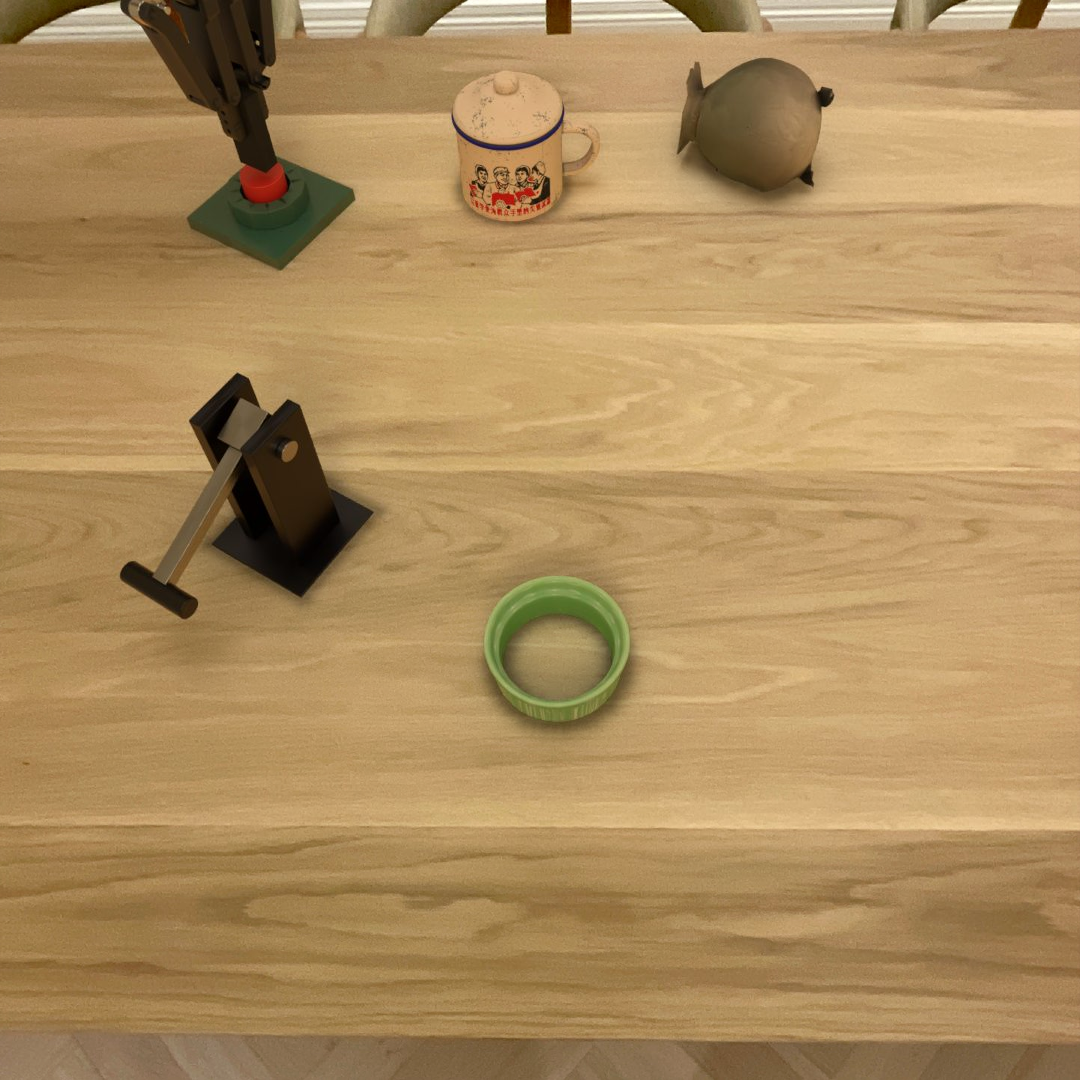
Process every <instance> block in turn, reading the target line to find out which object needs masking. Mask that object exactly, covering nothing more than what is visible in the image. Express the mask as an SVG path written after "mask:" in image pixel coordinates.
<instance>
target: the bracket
mask: <svg viewBox="0 0 1080 1080" xmlns="http://www.w3.org/2000/svg"><path fill="white" fill-rule="evenodd" d="M240 398H242V399H244V400H246V401H248V402H250V403H252V404H254V405H256V406H258V407H259V408H261V409H262V407H261V404H260V403H259V400H258V397H257V394H256V392H255V390H254V387H253V385H252V382H251V380H250V378H249V377H247V376H245V375H244V374H241V373H240V372H236V373H235V374H234V375H233V376H231V378H230V379H229V380H228V381H227V382H225V383H224V384H223V386H222V387H221V388H219V389H218V390H217V392H215V394H213V395H212V396H211V398H209V400H207V401H206V403H204V404H203V405H202V406H201V407H200V408H199V409H198V411H197V412H195V414H193V416H191V417H190V418H189V420H188V423H189V425H190V427H191V429H192V431H193V433H194V435H195V437H196V439H197V441H198V443H199V445H200V447H201V450H202V451H203V453H204V455H205V457H206V459H207V461H208V463H209V465H210V467H211V469H212V471H213V472H214V471H215V470H216V468H217V466H218V464H219V463H220V461H221V459H222V458H223V456H224V454H225V453H226V451H227V449H228V448H229V446H230V445H228V444H227V443H225V442H223V441H222V440H220V439H218V438H217V437H218V435H219V433H220V432H221V430H222V428H223V427H224V425H225V423H226V422H227V420H228V418H229V417H230V415H231V413H232V412H233V410H234V408H235V406H236V405H237V403H238V401H239V400H240ZM240 450H241V453H242V455H243V457H244V459H245V462H246V464H247V465H246V467H245V468H244V470H243V472H242V473H241V475H240V477H239V478H238V480H237V482H236V484H235V485H234V487H233V489H232V490H231V492H230V494H229V495H228V497H227V499H226V500H227V502H228V504H229V505H230V507H231V510H232V511H233V514H234V515H235V517H234V519H233V520H232V521H231V522H230V523H229V524H228V525H227V526H226V527H225V528H224V529H223V531H221V533H219V535H218V536H217V537H216V538H215V539H214V540H213V541H212V542H211V546H213V547H214V548H215V549H218V550H219V551H221V552H223V553H225V554H226V555H228V556H230V557H231V558H233V559H235V560H237V561H238V562H239V563H241V564H244V565H245V566H247V567H248V568H249V569H251V570H253V571H255V572H256V573H258V574H260V575H262V576H263V577H265V578H267V579H268V580H270V581H271V582H274V583H275V584H277V585H279V586H280V587H282V588H283V589H285V590H287V591H289V592H290V593H292V594H294V595H295V596H297V597H299V598H303V596H304V595H305V594H306V593H307V592H308V591H309V590H310V589H311V587H312V586H313V585H314V584H315V583H316V581H317V580H318V579H319V577H321V576H322V574H323V573H324V572H325V571H326V570H327V568H328V567H329V566H330V565H331V564H332V562H333V561H334V560H335V559H336V558H337V557H338V556H339V554H340V553H341V552H342V551H343V550H344V548H345V547H346V546H347V545H348V544H349V543H350V541H352V539H353V538H354V536H355V535H356V534H357V533H358V532H359V531H360V530H361V528H362V527H363V526H364V525H365V524H366V522H368V521H369V519H370V518H371V517H372V516H373V514H374V511H373V510H371V509H370V508H368V507H366V506H363V504H360V503H358V502H357V501H356V500H355V501H354V500H353V499H351V498H349V497H347V496H345V495H344V494H342V493H340V492H339V491H336V490H335V489H333V488H331V487H329V484H328V481H327V479H326V476H325V475H326V474H325V473H324V469H323V466H322V464H321V461H320V458H319V455H318V452H317V450H316V446H315V444H314V440H313V438H312V436H311V432H310V430H309V426H308V424H307V421H306V418H305V415H304V412H303V410H302V406H301V405H300V404H299V403H297V402H295V401H293V400H291V399H290V398H287V399H286V400H285V401H284V402H283V403H282V404H281V405H280V406H279V407H278V408H277V409H276V410H275V411H274V413H273V414H272V416H271V417H270V418H269V419H268V420H267V421H266V422H265V423H264V424H263V425H262V426H261V427H260V428H259V429H258V430H257V431H256V432H255V433H254V434H253V435H252V436H251V438H250V439H249V440H248V441H247V442H246V443H245V444H244V445H243V446H242V447H241V448H240Z"/></svg>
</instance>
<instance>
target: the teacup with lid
mask: <svg viewBox="0 0 1080 1080" xmlns="http://www.w3.org/2000/svg"><path fill="white" fill-rule="evenodd" d="M450 115H451V117H450V118H451V122H452V125H453V128H454V129H455V134H456V135H455V136H456V142H457V143H456V144H457V151H458V152H457V153H458V160H459V161H458V162H459V169H460V178H461V188H462V194H463V198H464V200H465V202H466V204H467V205H468V206H469V207H470V208H471V209H472V210H473V211H474V212H476V213H478V214H479V215H480V216H483V217H486V218H488V219H491V220H496V221H502V222H518V221H520V222H521V221H525V220H529V219H532V218H533V219H534V218H536V217H538V216H540V215H542V214H545V213H546V212H547V211H549V210H550V209H551V208H552V207H554V205H556V203H557V202H558V201H559V199H560V197H561V195H562V193H563V184H564V183H563V177H566V176H567V177H568V176H575V175H579V174H581V173H583V172H585V171H587V170H588V169H589V168H590V167H591V166H592V165H593V164H594V163H595V161H596V160H597V158H598V156H599V153H600V149H601V148H600V147H601V138H600V134H599V132H598V131H599V130H598V129H597V128H596V127H595V126H594V125H593V124H591V123H590V122H588V121H586V120H582V119H576V118H575V119H574V118H573V119H564V118H565V105H564V102H563V100H562V97H561V95H560V94H559V92H558V90H557V89H556V88H555V87H554V86H553V84H551V83H549V82H548V81H546V80H545V79H544V78H541V77H540V76H537V75H534V74H530V73H527V72H520V71H512V70H507V69H505V70H504V69H503V70H501V71H498V72H495V73H489V74H486V75H483V76H481V77H478V78H476V79H474V80H472V81H471V82H469V83H468V84H466V86H464V87H462V89H461V90H460V92H459V93H458V94H457V96H455V99H454V102H453V104H452V108H451V114H450ZM564 134H580V135H583V136H585V137H587V138H588V139H589V140H590V142H591V143H590V146H589V149H588V150H587V152H586V154H584V155H583V156H582V157H581V158H578V159H576V160H574V161H568V162H567V161H566V162H563V135H564Z"/></svg>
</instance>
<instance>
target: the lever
mask: <svg viewBox="0 0 1080 1080" xmlns="http://www.w3.org/2000/svg"><path fill="white" fill-rule="evenodd" d="M272 415H273V414H272V413H270V412H269V411H267V410H265V409H263V408H262V407H261V408H259V407H258V406H256V405H254V404H252V403H250V402H248V401H246V400H244V399H242V398H240V400H239V401H238V403H237V405H236V406H235V408H234V410H233V412H232V413H231V415H230V417H229V418H228V420H227V422H226V423H225V425H224V427H223V428H222V430H221V432H220V433H219V435H218V437H217V438H218V439H220V440H222V441H223V442H225V443H227V444H228V445H230V446H229V448H228V449H227V451H226V453H225V454H224V456H223V458H222V459H221V461H220V463H219V464H218V466H217V468H216V470H215V471H213V473H212V475H211V477H210V478H209V479H208V480H207V481H208V482H207V483H206V484H205V486H204V488H203V490H202V491H201V494H200V495H199V497H198V498H197V500H196V502H195V503H194V505H193V507H192V508H191V510H190V512H189V514H188V515H187V517H186V519H185V520H184V521H183V524H182V525H181V527H180V529H179V530H178V532H177V534H176V536H175V537H174V539H173V541H172V543H171V544H170V545H169V547H168V549H167V551H166V552H165V554H164V556H163V558H162V559H161V561H160V563H159V564H158V566H157V567H156V569H155V571H153V570H151V569H150V568H148V567H146V566H144V564H141V563H140V562H139V561H137V560H130V561H128V562H126V563H125V564H124V565H123V567H122V568H121V570H120V571H119V579H120V581H121V582H122V583H124V584H125V585H127V586H129V587H130V588H132V589H134V590H135V591H137V592H138V593H140V594H141V595H143V596H145V597H146V598H148V599H150V600H151V601H153V602H154V603H156V604H157V605H159V606H160V607H162V608H163V609H165V610H167V611H169V612H170V613H172V614H173V615H175V616H176V617H178V618H180V619H181V620H188V619H189V618H191V617H192V616H193V615H194V614H195V613H196V611H197V610H198V607H199V600H198V598H196V597H195V596H193V595H192V594H190V593H188V592H187V591H185V590H184V589H182V588H180V587H179V586H177V584H178V582H179V581H180V579H181V577H182V575H183V573H184V572H185V570H186V569H187V567H188V566H189V564H190V562H191V560H192V558H193V557H194V555H195V554H196V552H197V550H198V549H199V546H200V545H201V544H202V542H203V540H204V538H205V537H206V534H207V533H208V531H209V530H210V528H211V526H212V524H213V523H214V521H215V520H216V517H217V516H218V514H219V512H220V511H221V509H222V508H223V506H224V504H225V502H226V501H227V500H228V499H227V497H228V495H229V494H230V492H231V490H232V489H233V487H234V485H235V484H236V482H237V480H238V478H239V477H240V475H241V473H242V472H243V470H244V468H245V467H246V465H247V464H246V462H245V459H244V457H243V455H242V453H241V450H240V448H241V447H242V446H243V445H244V444H245V443H246V442H247V441H248V440H249V439H250V438H251V436H252V435H253V434H254V433H255V432H256V431H257V430H258V429H259V428H260V427H261V426H262V425H263V424H264V423H265V422H266V421H267V420H268V419H269V418H270V417H271V416H272Z"/></svg>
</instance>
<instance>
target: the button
mask: <svg viewBox="0 0 1080 1080" xmlns="http://www.w3.org/2000/svg"><path fill="white" fill-rule="evenodd" d="M241 168H242V169H241ZM241 168H240V169H241V171H240V174H239V178H240V182H241V185H242V188H243V191H244V194H245V196H246V198H247V199H248V200H249V201H251V202H253V203H269V202H271V201H274V200H277V199H280V198H281V197H282V196H283V195H284V194H285V193H286V192H287V189H288V185H287V181H286V178H285V174H284V171H283V168H282V166H281V164H280V163H277V164H276V165H275V166H273V167H272V168H271V169H270V170H269V171H268V172H267V173H264V172H262V171H260V170H257V169H255V168H253V167H251V166H248V165H246V164H244V165H243V166H242V167H241Z"/></svg>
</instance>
